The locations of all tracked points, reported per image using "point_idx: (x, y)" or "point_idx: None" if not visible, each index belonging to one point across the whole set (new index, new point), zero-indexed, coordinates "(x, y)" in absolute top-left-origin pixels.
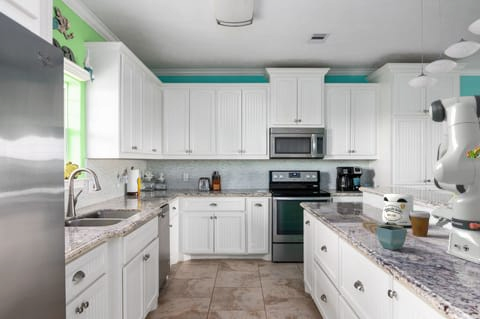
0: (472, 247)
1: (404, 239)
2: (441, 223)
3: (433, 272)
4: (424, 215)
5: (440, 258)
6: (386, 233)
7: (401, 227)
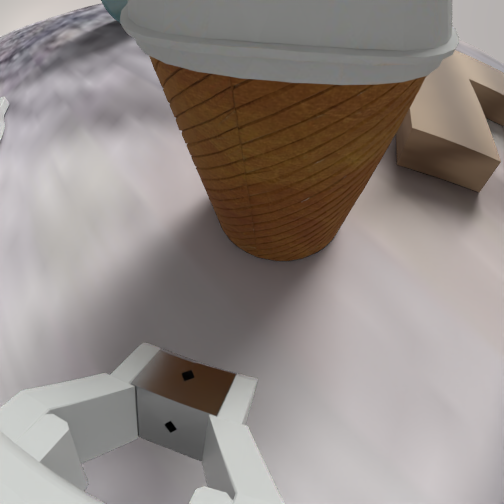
0: None
1: (103, 2)
2: (114, 381)
3: (18, 43)
4: None
5: (16, 74)
6: None
7: (410, 117)
